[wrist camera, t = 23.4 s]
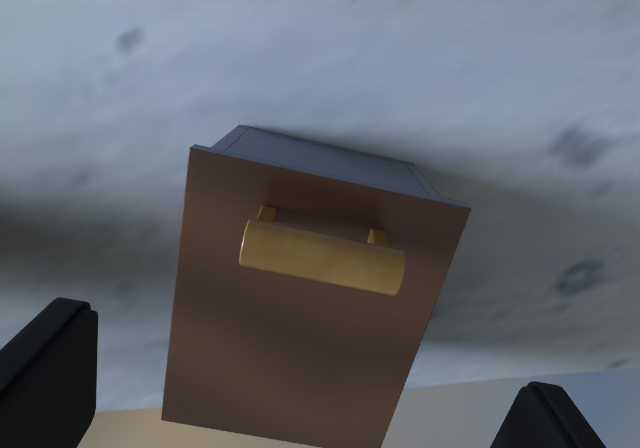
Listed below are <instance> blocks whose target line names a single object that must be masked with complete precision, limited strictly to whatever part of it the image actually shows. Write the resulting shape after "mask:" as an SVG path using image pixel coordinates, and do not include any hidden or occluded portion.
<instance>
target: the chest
mask: <svg viewBox="0 0 640 448" xmlns="http://www.w3.org/2000/svg"><path fill="white" fill-rule="evenodd" d="M211 148H214V149H219V150H223V151H228V152H232V153H237V154H242V155H246V156H251V157H255V158H260V159H265V160H269V161H274V162H278V163H283V164H288V165H292V166H297V167H301V168H306V169H311V170H315V171H320V172H324V173H329V174H334V175H338V176H343V177H347V178H352V179H357V180H361V181H366V182H370V183H375V184H380V185H384V186H389V187H393V188H398V189H403V190H407V191H412V192H416V193H421V194H426V195H430V196H435V197H439V198H442V197H441V196H440V195H439V194H438V193H437V191H436V190H435V189H434V188H433V187H432V185H431V184H430V183H429V182H428V181H427V179H426V178H425V177H424V176H423V175H422V173H421V172H420V171H419V170H418V169H417V167H416V166H415V165H414V164H413V163H408V162H404V161H399V160H395V159H390V158H386V157H381V156H377V155H372V154H368V153H363V152H359V151H354V150H350V149H345V148H341V147H336V146H332V145H327V144H323V143H318V142H314V141H309V140H305V139H300V138H296V137H291V136H287V135H282V134H278V133H273V132H269V131H264V130H260V129H255V128H251V127H246V126H242V125H238V126H237V127H236V128H235V129H233V130H232V131H231V132H230V133H228V134H227V135H226V136H225V137H223V138H222V139H221V140H220V141H218V142H217V143H216V144H215V145H213V146H212V147H211Z"/></svg>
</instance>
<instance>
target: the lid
mask: <svg viewBox="0 0 640 448" xmlns="http://www.w3.org/2000/svg"><path fill="white" fill-rule="evenodd" d="M470 211H471V208H470V207H469V206H468V205H467V204H466V203H462V202H458V201H453V200H449V199H444V198H439V197H435V196H430V195H426V194H421V193H416V192H412V191H407V190H403V189H398V188H393V187H389V186H384V185H380V184H375V183H370V182H366V181H361V180H357V179H352V178H347V177H343V176H338V175H334V174H329V173H324V172H320V171H315V170H311V169H306V168H301V167H297V166H292V165H288V164H283V163H278V162H274V161H269V160H265V159H260V158H255V157H251V156H246V155H242V154H237V153H232V152H228V151H223V150H219V149H214V148H209V147H205V146H200V145H196V144H195V145H193V146H192V147H190V148H189V155H188V165H187V174H186V184H185V194H184V203H183V213H182V223H181V232H180V242H179V252H178V261H177V271H176V281H175V290H174V300H173V310H172V319H171V329H170V339H169V348H168V358H167V368H166V377H165V387H164V397H163V407H162V417H161V420H163V421H169V422H175V423H182V424H187V425H192V426H198V427H204V428H210V429H216V430H222V431H228V432H234V433H240V434H246V435H252V436H258V437H264V438H269V439H275V440H281V441H287V442H293V443H299V444H305V445H310V446H316V447H322V448H381V445H382V442H383V440H384V438H385V435H386V432H387V429H388V427H389V424H390V422H391V419H392V416H393V414H394V411H395V409H396V405H397V403H398V401H399V398H400V395H401V393H402V390H403V387H404V385H405V382H406V380H407V377H408V374H409V372H410V369H411V366H412V364H413V361H414V358H415V356H416V353H417V351H418V348H419V345H420V343H421V340H422V337H423V335H424V332H425V329H426V327H427V324H428V322H429V319H430V316H431V314H432V311H433V308H434V306H435V303H436V301H437V298H438V295H439V293H440V290H441V287H442V285H443V282H444V279H445V277H446V274H447V272H448V269H449V266H450V264H451V261H452V258H453V256H454V253H455V250H456V248H457V245H458V243H459V240H460V237H461V235H462V232H463V229H464V227H465V224H466V221H467V219H468V216H469V214H470Z"/></svg>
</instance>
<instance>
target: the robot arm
mask: <svg viewBox="0 0 640 448" xmlns="http://www.w3.org/2000/svg"><path fill="white" fill-rule="evenodd" d="M97 340H98V313H97V312H96V311H93V310H91V307H90V304H89V303H88V302H84V301H78V300H73V299H67V298H61V297H59V298H56V299H55V300H53V301H52V302H51V303H50V304H49V305H48V306H47V307H46V308H45V309H44V310H42V311H41V312H40V313H39V314H38V315H37V316H36V317H35V318H34V319H33V320H32V321H31V322H30V323H29V324H28V325H26V326H25V327H24V328H23V329H22V330H21V331H20V332H19V333H18V334H17V335H16V336H15V337H14V338H13V339H12V340H11V341H9V342H8V343H7V344H6V345H5V346H4V347H3V348H2V349H1V350H0V448H77V446H78V444H79V443H80V441H81V439H82V438H83V436H84V434H85V433H86V431H87V429H88V428H89V426H90V424H91V422H92V420H93V417H94V414H95V410H96V382H97ZM490 448H606V447H605V445H604V444H603V442H602V441H601V440H600V438H599V437H598V436H597V434H596V433H595V431H594V430H593V429H592V427H591V426H590V425H589V423H588V422H587V420H585V418H584V416H583V415H582V414H581V412H580V411H579V410H578V408H577V407H576V405H575V404H574V403H573V401H572V400H571V399H570V397H569V396H568V394H567V393H566V392H565V390H563V388H562V387H560V386H558V385H552V384H547V383H541V382H536V381H534V382H530V383H529V384H528V385H527V386H526V387H522V388H521V389H520V391H519V393H518V395H517V397H516V398H515V400H514V403H513V404H512V406H511V408H510V410H509V412H508V414H507V416H506V418H505V420H504V422H503V424H502V426H501V428H500V430H499V432H498V433H497V435H496V437H495V439H494V441H493V443H492V445H491V447H490Z"/></svg>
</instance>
